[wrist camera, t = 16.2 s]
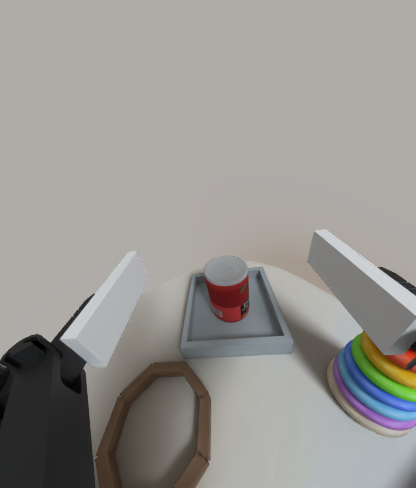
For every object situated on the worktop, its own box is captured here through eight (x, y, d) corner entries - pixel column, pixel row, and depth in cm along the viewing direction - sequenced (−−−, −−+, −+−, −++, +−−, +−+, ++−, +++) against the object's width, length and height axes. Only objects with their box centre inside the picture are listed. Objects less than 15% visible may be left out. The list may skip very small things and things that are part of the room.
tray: (184, 358, 28) (179, 348, 26) (194, 283, 43) (192, 274, 42) (291, 353, 26) (293, 341, 24) (262, 277, 42) (262, 266, 40)
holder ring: (80, 524, 16) (69, 525, 15) (135, 369, 28) (130, 364, 27) (209, 533, 15) (206, 535, 14) (211, 366, 26) (209, 360, 25)
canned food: (251, 324, 30) (249, 282, 25) (210, 323, 32) (199, 283, 26) (248, 293, 37) (246, 254, 31) (213, 293, 38) (206, 256, 33)
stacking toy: (321, 350, 26) (358, 257, 16) (390, 371, 22) (486, 269, 13) (330, 416, 20) (396, 329, 10) (425, 457, 17) (651, 385, 7)
